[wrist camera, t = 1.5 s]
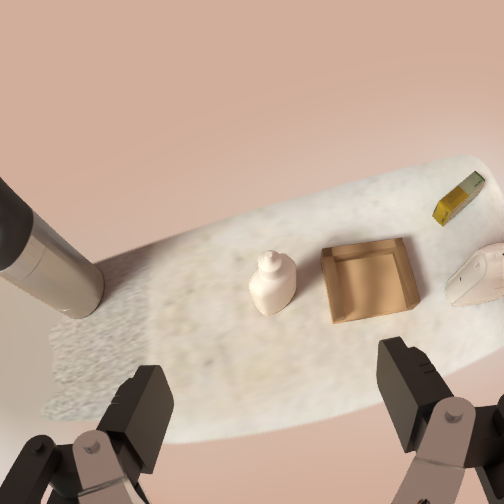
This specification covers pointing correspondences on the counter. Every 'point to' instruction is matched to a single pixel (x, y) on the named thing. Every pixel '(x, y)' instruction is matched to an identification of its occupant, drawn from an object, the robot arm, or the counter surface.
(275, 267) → the eye dropper bottle
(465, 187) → the medication box
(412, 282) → the oak tray
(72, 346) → the counter surface
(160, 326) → the counter surface
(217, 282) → the counter surface
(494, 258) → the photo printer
